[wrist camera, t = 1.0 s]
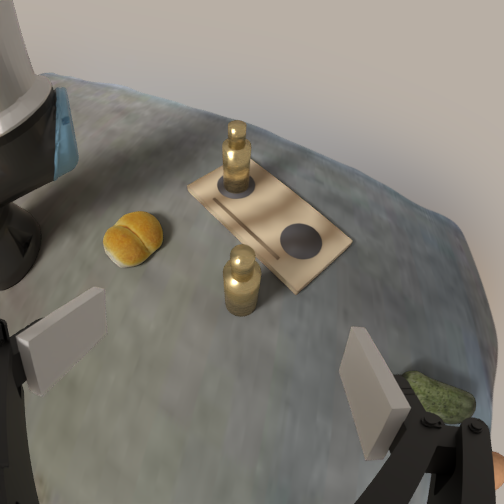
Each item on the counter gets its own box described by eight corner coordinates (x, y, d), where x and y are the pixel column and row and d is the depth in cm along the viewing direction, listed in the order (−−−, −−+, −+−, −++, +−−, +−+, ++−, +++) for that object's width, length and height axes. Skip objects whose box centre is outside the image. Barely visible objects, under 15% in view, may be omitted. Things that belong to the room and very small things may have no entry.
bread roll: (174, 237, 45) (170, 220, 41) (130, 279, 41) (121, 264, 37) (139, 210, 47) (133, 193, 43) (97, 247, 43) (88, 232, 40)
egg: (459, 445, 28) (503, 441, 21) (483, 460, 26) (526, 457, 19) (437, 486, 26) (479, 491, 18) (463, 499, 24) (505, 503, 16)
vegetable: (380, 406, 33) (398, 402, 28) (392, 370, 35) (411, 361, 31) (457, 431, 30) (480, 427, 26) (466, 397, 32) (488, 390, 28)
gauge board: (187, 190, 49) (187, 185, 48) (243, 158, 54) (244, 153, 53) (295, 295, 40) (297, 290, 39) (350, 245, 45) (352, 240, 44)
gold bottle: (218, 183, 48) (215, 124, 39) (237, 172, 50) (238, 114, 40) (234, 197, 47) (235, 137, 37) (254, 185, 48) (258, 126, 39)
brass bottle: (218, 300, 39) (213, 252, 30) (242, 282, 41) (244, 230, 31) (239, 322, 38) (240, 281, 28) (263, 303, 40) (272, 256, 30)
